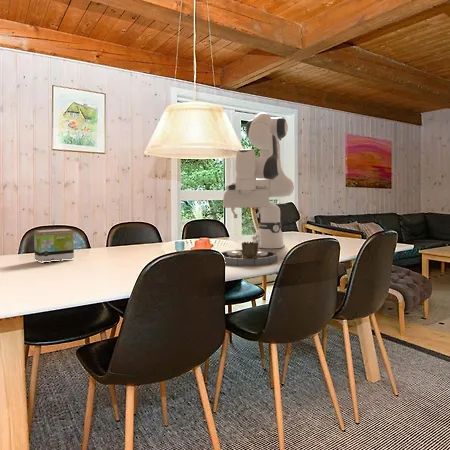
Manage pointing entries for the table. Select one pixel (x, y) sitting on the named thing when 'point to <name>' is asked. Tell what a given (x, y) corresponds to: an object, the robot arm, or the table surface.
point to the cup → (250, 249)
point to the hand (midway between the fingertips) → (246, 218)
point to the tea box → (53, 244)
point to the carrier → (240, 260)
